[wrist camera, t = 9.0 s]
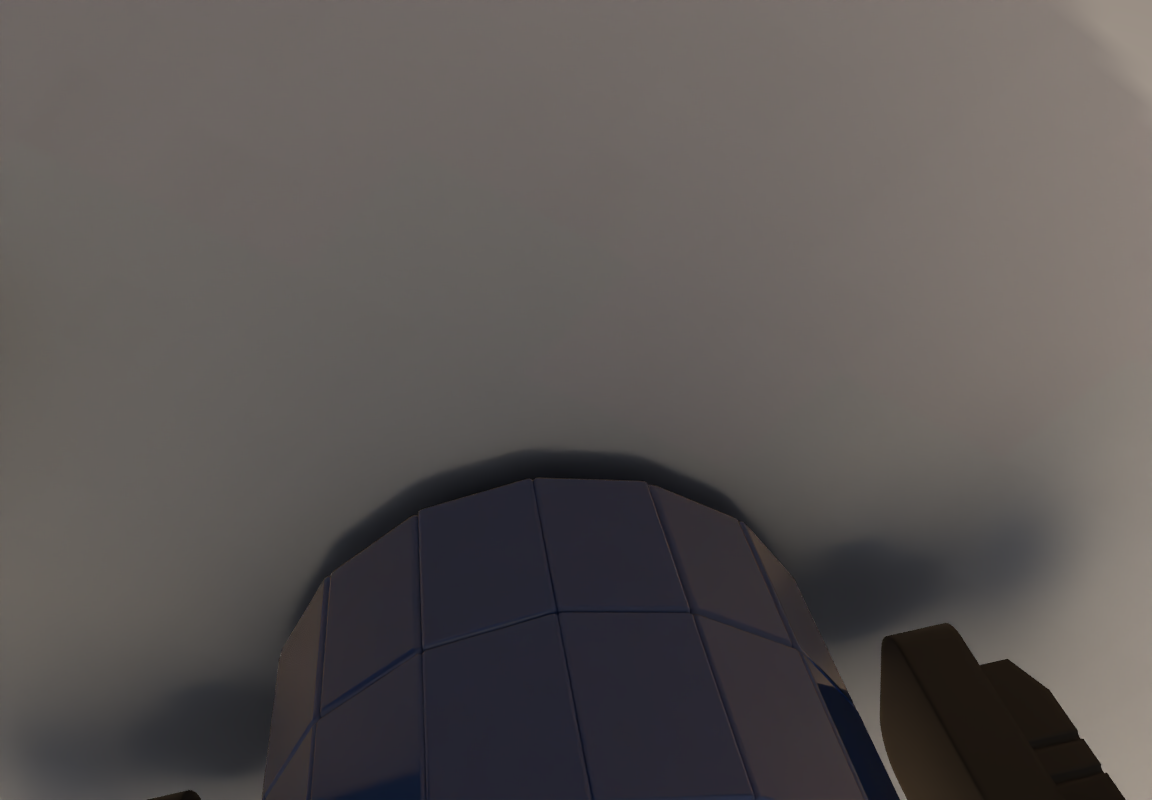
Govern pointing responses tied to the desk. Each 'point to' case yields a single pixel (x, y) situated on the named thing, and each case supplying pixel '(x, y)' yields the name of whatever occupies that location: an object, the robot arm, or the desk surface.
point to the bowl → (565, 661)
